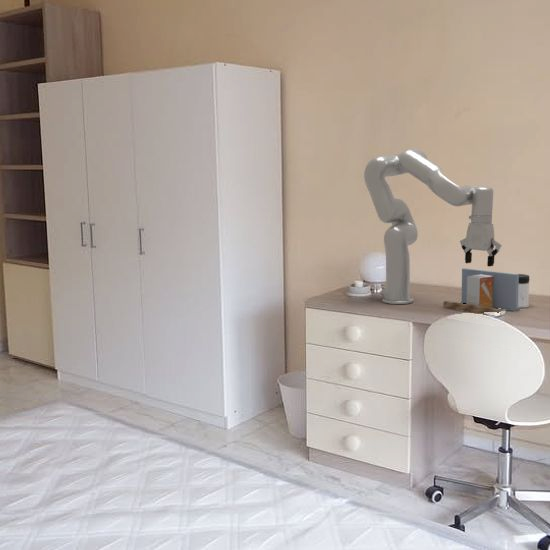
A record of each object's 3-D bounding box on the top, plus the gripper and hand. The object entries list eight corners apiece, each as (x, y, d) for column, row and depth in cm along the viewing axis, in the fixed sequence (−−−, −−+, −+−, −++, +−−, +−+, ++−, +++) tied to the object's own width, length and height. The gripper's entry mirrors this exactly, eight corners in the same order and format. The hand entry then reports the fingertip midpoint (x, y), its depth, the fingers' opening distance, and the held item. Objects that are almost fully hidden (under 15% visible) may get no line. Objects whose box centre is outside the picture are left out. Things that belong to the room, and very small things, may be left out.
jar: (512, 308, 275) (513, 277, 273) (501, 304, 283) (502, 274, 281) (533, 307, 277) (534, 276, 275) (522, 303, 285) (522, 273, 283)
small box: (479, 312, 271) (479, 278, 269) (466, 309, 276) (466, 276, 274) (493, 309, 275) (493, 275, 273) (479, 306, 281) (480, 273, 279)
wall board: (461, 303, 288) (461, 268, 286) (465, 302, 290) (466, 267, 288) (515, 311, 270) (516, 274, 268) (519, 310, 272) (520, 273, 270)
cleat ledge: (443, 307, 280) (443, 301, 280) (445, 307, 281) (445, 300, 281) (498, 316, 262) (498, 310, 262) (500, 316, 263) (500, 309, 263)
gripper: (456, 218, 274) (454, 262, 277) (496, 222, 261) (493, 268, 264) (467, 217, 279) (465, 260, 282) (507, 220, 266) (504, 266, 269)
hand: (479, 264), depth 273 cm, fingers open, 9 cm apart
